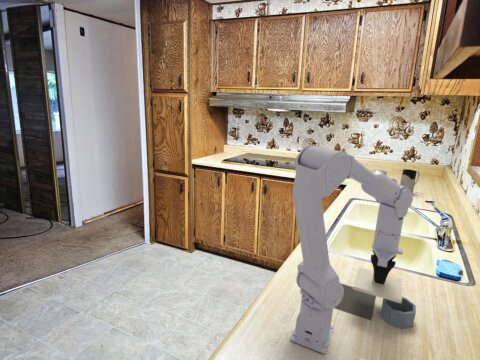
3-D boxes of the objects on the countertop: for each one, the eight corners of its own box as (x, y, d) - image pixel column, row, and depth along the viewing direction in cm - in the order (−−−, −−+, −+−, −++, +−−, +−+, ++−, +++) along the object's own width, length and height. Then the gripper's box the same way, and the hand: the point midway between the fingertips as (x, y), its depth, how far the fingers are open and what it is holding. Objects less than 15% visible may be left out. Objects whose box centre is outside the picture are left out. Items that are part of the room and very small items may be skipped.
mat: (371, 321, 79) (371, 320, 79) (319, 304, 85) (319, 303, 85) (376, 295, 90) (376, 294, 90) (330, 281, 96) (330, 280, 96)
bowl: (412, 333, 76) (415, 317, 75) (379, 322, 79) (381, 306, 78) (412, 316, 82) (415, 300, 81) (381, 306, 85) (384, 291, 84)
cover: (401, 303, 75) (404, 285, 74) (352, 289, 80) (355, 272, 78) (401, 281, 84) (405, 265, 83) (358, 269, 89) (361, 254, 88)
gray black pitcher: (394, 192, 199) (398, 169, 196) (409, 190, 206) (413, 168, 202) (407, 196, 192) (411, 172, 188) (422, 194, 198) (426, 171, 194)
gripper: (405, 245, 70) (395, 299, 74) (406, 224, 83) (397, 271, 86) (371, 238, 73) (363, 290, 77) (377, 219, 86) (369, 264, 89)
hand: (379, 279), depth 82 cm, fingers closed on cover, 3 cm apart
